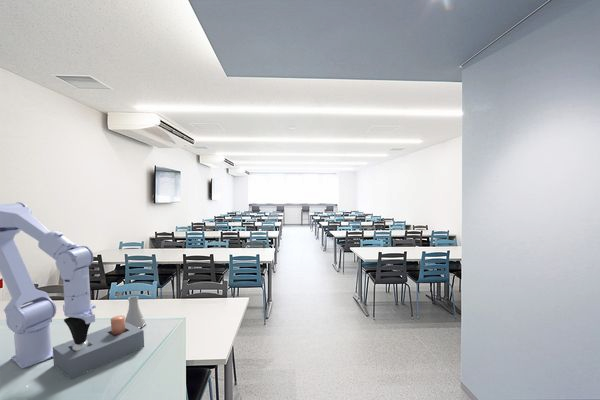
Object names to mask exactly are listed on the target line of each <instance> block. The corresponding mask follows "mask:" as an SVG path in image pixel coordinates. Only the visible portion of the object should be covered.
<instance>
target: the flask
mask: <svg viewBox="0 0 600 400" xmlns="http://www.w3.org/2000/svg"><path fill="white" fill-rule="evenodd" d="M127 300H128V303H129V305H128V309H127V314H126V317H125V322H127V323H129V324H131V325H133V326H136V327H142V326H143V324H144V323H145V322H146V320H145V318H144V316H143V314H142V312H141V310H140V307H139V301H138V300H139V295H138V296H137V295H134V296H128V298H127ZM142 318H144V319H142Z"/></svg>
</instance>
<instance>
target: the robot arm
mask: <svg viewBox="0 0 600 400" xmlns="http://www.w3.org/2000/svg"><path fill="white" fill-rule="evenodd" d="M21 231H22V232H23V233H25V234H26V235H28V236H29V237H31V238H33V239H35V240H36V241H37V245H38V248H39V249H40V250H41V251H42V252H44V253H45V254H47V256H49V257H51V258H52V259H53V260H55V266H56V268H57V270H58V271H59V274H60V278H61V279H62V285H63V298H64V299H63V300H64V304H63V305H62V310H63V313H64V317H65V318H64V319H63V321H64V323H65V324H66V326H67V327H68V329H69V331H70V333H71V336H72V340H74V342H75V344H77V345H78V344H81V343H84V342H86V338H87V335H88V334H89V333H88V332H89V329H90V325H91V324H92V323H94V322H96V314H95V313H94V311H93V309H95V308H96V304H94V303H92V302H91V287H90V286H91V285H90V271H89V270H90V269H89V267H90V266H91V265H92V264H93V262H94V254H93V251H92V250H91V248H89V247H88V246H87V245H79V244H76V243H75V242H73V241H71V240H70V239H69V238H67V237H66V236H65V235H64V233H63V232H61V231H57V230H56V231H55V230H53V231H50V230H49V229H48V227H46V226H45V225H44V224H42V222H40V221H39V220H38V219H37V218H36V217H35V216H34V215H33V214H32V209H31V208H30V207H29V206H27V204H25V203H24V202H22V201H21V202H20V201H19V202H14V203H11V202H10V203H0V274H1V277H2V279H3V281H4V284H5V285H6V288H7V290H8V292H9V294H10V296H11V299H10V301H9V302H8V303H7V304H6V306H5V308H4V309H3V312H4V314H5V320H6V321H5V322H6V326H7V327H8V328H9V329H8V330H10V331H12V333H14V335H13V336H14V338H13V339H14V352H15V353H14V355H11V357H10V359H12V361H13V362H14V363H15V364H16V365H18V366H19V367H20V369H26V368H29V367H31V366H33V365H36V364H39V363H42V362H44V361H46V360H49V359H52V358H53V351H52V350H53V349H52V339H51V338H52V337H51V327H50V325H51V323H52V322H53V319H54V317H55V316H56V314H57V305H56V303H55V302H54V301H53V300H52V298H51V297H50V296H49V294H48V292H46V291H43V290H40V289H37V288H36V286H35V284H34V282H33V280H32V277H31V275H30V273H29V271H28V269H27V267H26V264H25V262H24V260H23V257H22V256H21V253H20V251H19V249H18V246H17V244H16V242H15V240H14V238H15V236H16V235H17V234H19V233H20V232H21ZM51 349H52V350H51ZM51 357H52V358H51Z"/></svg>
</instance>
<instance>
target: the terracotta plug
mask: <svg viewBox="0 0 600 400" xmlns="http://www.w3.org/2000/svg"><path fill="white" fill-rule="evenodd" d="M125 319H126V317H125V315H116V316H113V317H111V318H110V326H111V334H112V335H113V336H117V335H119V334H122V333H124V332H126V331H125Z"/></svg>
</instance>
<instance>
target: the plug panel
mask: <svg viewBox="0 0 600 400" xmlns="http://www.w3.org/2000/svg"><path fill="white" fill-rule="evenodd" d="M125 331H126V332H124V333H122V334H119V335H117V336H113V335H112V334H111V325H110V326H107V327H105V328H104V327H103V328H101V329H98V330H97V331H94V332H91V333H87V338H86V339H87V340H88V346H89V347H86V348H83V349H81V350H78V351H76V352H74V351H73V350H72V344H73V343H74V340H73V339H72V340H69V341H66V342H63V343H61V344H58V345H55V346H52V350H53V357H52V358H53V359H52V360H53V366H54V367H55V368H56V369H58V370H59V371H60V372H61V373H63V374H64V375H65V376H66V377H68V379H70V380H73V379H75V378H77V377H79V376H82V375H84V374H86V373H88V372H87V371H89V372H90V370H91V371H93V370H95V369H97V368H99V367H102V366H105V365H106V364H109V363H111V362H114V361H116V360H117V359H119V358H122V357H124V356H126V355H129V354H130V353H133V352H136V351H138V350H140V349H142V348H144V347H145V334H144V331H145V330H143V328H141V329H140V328H138V327H136V326H133V325H131V324H129V323H127V322H125ZM92 369H93V370H92ZM85 372H86V373H85ZM83 373H84V374H83ZM81 374H82V375H81Z"/></svg>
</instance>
